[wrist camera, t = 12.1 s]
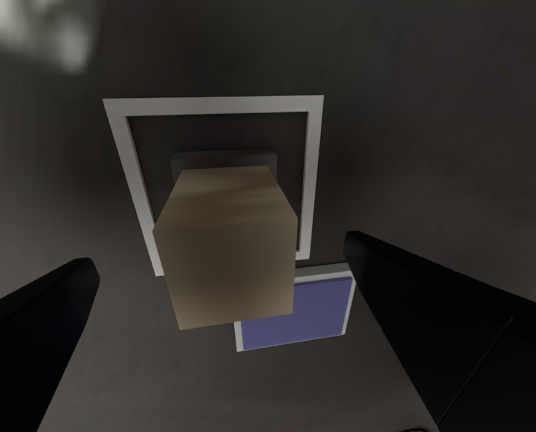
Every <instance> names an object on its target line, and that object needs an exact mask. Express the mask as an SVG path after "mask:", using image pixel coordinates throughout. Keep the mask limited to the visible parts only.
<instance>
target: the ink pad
mask: <svg viewBox="0 0 536 432" xmlns="http://www.w3.org/2000/svg"><path fill="white" fill-rule="evenodd" d="M355 284H356V282H355V279H354V277H353V275H352V273H351V270H350V268H349V266H348V263H347V262H346V263H338V264H329V265H321V266H313V267H304V268H296V269H295V279H294V298H293V313H292V314H285V315H279V316H272V317H265V318H258V319H252V320H245V321H238V322H234V327H235V336H236V345H237V352H239V351H245V350H251V349H257V348H263V347H269V346H275V345H281V344H288V343H294V342H300V341H306V340H312V339H318V338H324V337H331V336H337V335H343V334H345V330H346V326H347V321H348V317H349V312H350V307H351V303H352V298H353V294H354V289H355Z"/></svg>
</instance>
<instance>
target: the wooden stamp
mask: <svg viewBox="0 0 536 432" xmlns="http://www.w3.org/2000/svg"><path fill="white" fill-rule="evenodd" d="M169 162H170V167H171V172H172V176H173V181H174V188H173V190H172V192H171V194H170V196H169V198H168V200H167V202H166V204H165V206H164V208H163V210H162V212H161V214H160V216H159V218H158V220H157V222H156V224H155V226H154V228H153V230H152V234H153V237H154V241H155V244H156V248H157V251H158V255H159V258H160V262H161V265H162V269H163V272H164V276H165V279H166V283H167V286H168V290H169V294H170V297H171V301H172V304H173V308H174V311H175V315H176V318H177V322H178V325H179V329H180V330H184V329H191V328H198V327H204V326H211V325H218V324H225V323H231V322H238V321H245V320H252V319H258V318H265V317H272V316H279V315H285V314H292V313H293V298H294V279H295V260H296V242H297V223H298V218H297V216H296V214H295V212H294V211H293V209H292V207H291V205H290V204H289V202H288V200H287V199H286V197H285V195H284V193H283V192H282V190H281V188H280V186H279V185H278V183H277V153H276V152H275V151H274V150H273V149H272V148H257V149H236V150H216V151H195V152H175V153H174V154H173V155H172V157H171V158H170V159H169Z"/></svg>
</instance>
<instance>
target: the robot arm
mask: <svg viewBox="0 0 536 432" xmlns="http://www.w3.org/2000/svg"><path fill="white" fill-rule="evenodd" d="M343 253H344V256H345V259H346V261H347V263H348V266H349V268H350V270H351V273H352V275H353V277H354V279H355V282H356V284H357V286H358V288H359V290H360V292H361V294H362V296H363V297H364V299H365V301H366V303H367V304H368V306H369V308H370V310H371V311H372V313H373V315H374V317H375V318H376V320H377V322H378V324H379V325H380V327H381V329H382V331H383V332H384V334H385V336H386V338H387V339H388V341H389V343H390V345H391V346H392V348H393V350H394V352H395V354H396V355H397V357H398V359H399V361H400V362H401V364H402V366H403V368H404V369H405V371H406V373H407V375H408V376H409V378H410V380H411V382H412V383H413V385H414V387H415V389H416V390H417V392H418V394H419V396H420V397H421V399H422V401H423V403H424V404H425V406H426V408H427V410H428V411H429V413H430V415H431V417H432V418H433V420H434V422H435V424H436V425H437V426H438V429H439V431H440V432H536V302H534V301H531V300H528V299H526V298H523V297H520V296H517V295H515V294H512V293H509V292H507V291H504V290H501V289H499V288H496V287H493V286H491V285H488V284H486V283H483V282H481V281H478V280H476V279H473V278H471V277H468V276H466V275H464V274H461V273H459V272H455V271H454V270H451V269H449V268H447V267H444V266H442V265H439V264H437V263H435V262H432V261H430V260H427V259H425V258H423V257H420V256H418V255H415V254H413V253H411V252H408V251H406V250H403V249H401V248H399V247H396V246H394V245H391V244H389V243H387V242H384V241H382V240H379V239H377V238H375V237H372V236H370V235H367V234H365V233H362V232H360V231H348V232H347V233H346V236H345V242H344V248H343ZM99 284H100V276H99V274H98V271H97V269H96V267H95V265H94V262H93V261H92V259H91V258H88V257H87V258H77V259H74V260H72V261H70V262H68V263H66V264H64V265H62V266H61V267H59V268H57V269H55V270H53V271H51V272H49V273H47V274H46V275H44V276H42V277H40V278H38V279H36V280H34V281H33V282H31V283H29V284H27V285H25V286H23V287H21V288H20V289H18V290H16V291H14V292H12V293H10V294H8V295H7V296H5V297H3V298H1V299H0V432H37V430H38V428H39V426H40V424H41V422H42V419H43V417H44V415H45V413H46V411H47V409H48V406H49V404H50V402H51V400H52V398H53V395H54V393H55V391H56V389H57V387H58V385H59V382H60V380H61V378H62V376H63V374H64V372H65V369H66V367H67V365H68V363H69V361H70V358H71V356H72V354H73V352H74V350H75V348H76V345H77V343H78V341H79V339H80V337H81V335H82V332H83V330H84V328H85V325H86V322H87V320H88V317H89V314H90V311H91V308H92V305H93V302H94V299H95V296H96V293H97V290H98V287H99Z"/></svg>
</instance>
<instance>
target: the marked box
mask: <svg viewBox="0 0 536 432" xmlns="http://www.w3.org/2000/svg"><path fill="white" fill-rule="evenodd" d="M323 99H324V95H307V96H244V97H182V98H119V99H102V100H103V103H104V107H105V110H106V113H107V117H108V120H109V123H110V126H111V130H112V133H113V136H114V140H115V143H116V146H117V149H118V153H119V156H120V159H121V163H122V166H123V169H124V173H125V176H126V179H127V182H128V186H129V189H130V192H131V196H132V199H133V202H134V206H135V209H136V212H137V215H138V219H139V222H140V225H141V229H142V232H143V235H144V239H145V242H146V245H147V248H148V252H149V255H150V258H151V262H152V265H153V268H154V272H155V275H156V276H161V275H164V272H163V269H162V265H161V262H160V258H159V255H158V251H157V248H156V244H155V241H154V237H153V234H152V230H153V228H154V226H155V224H156V223H155V219H154V216H153V212H152V208H151V204H150V201H149V197H148V193H147V189H146V186H145V182H144V178H143V174H142V171H141V167H140V163H139V159H138V156H137V152H136V148H135V145H134V141H133V137H132V133H131V130H130V126H129V122H128V118H127V116H147V115H186V114H225V113H265V112H304V111H307V122H306V138H305V154H304V170H303V187H302V203H301V219H300V235H299V249H296V260H302V259H309V255H310V244H311V233H312V222H313V211H314V200H315V188H316V177H317V166H318V155H319V144H320V133H321V122H322V111H323Z"/></svg>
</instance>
